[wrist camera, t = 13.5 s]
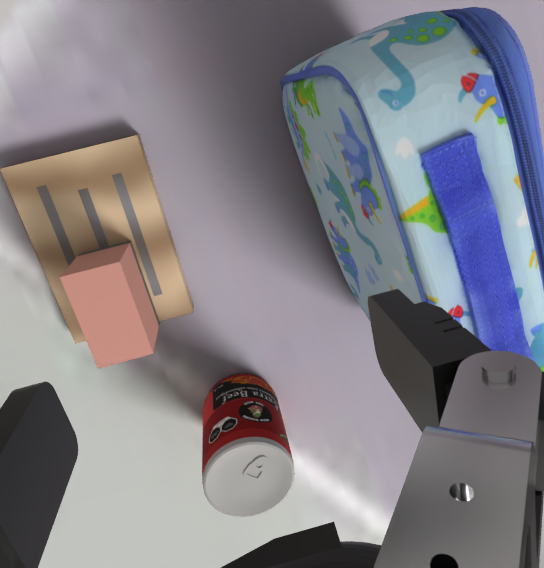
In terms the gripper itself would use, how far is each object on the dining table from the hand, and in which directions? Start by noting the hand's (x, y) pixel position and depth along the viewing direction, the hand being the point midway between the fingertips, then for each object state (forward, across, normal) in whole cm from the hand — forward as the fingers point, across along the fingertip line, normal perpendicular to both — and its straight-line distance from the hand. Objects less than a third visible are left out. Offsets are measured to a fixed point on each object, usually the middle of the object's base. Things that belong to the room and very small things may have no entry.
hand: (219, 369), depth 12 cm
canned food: (+32, +3, +23) cm, 40 cm away
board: (+32, +10, +3) cm, 34 cm away
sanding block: (+31, +10, +7) cm, 33 cm away
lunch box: (+32, -14, +5) cm, 36 cm away
